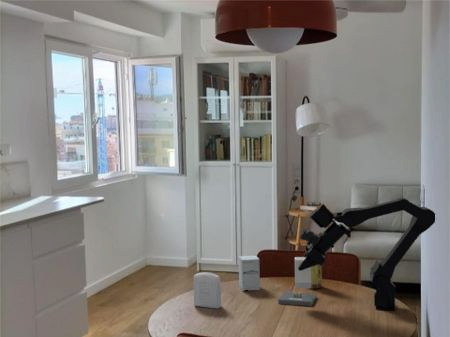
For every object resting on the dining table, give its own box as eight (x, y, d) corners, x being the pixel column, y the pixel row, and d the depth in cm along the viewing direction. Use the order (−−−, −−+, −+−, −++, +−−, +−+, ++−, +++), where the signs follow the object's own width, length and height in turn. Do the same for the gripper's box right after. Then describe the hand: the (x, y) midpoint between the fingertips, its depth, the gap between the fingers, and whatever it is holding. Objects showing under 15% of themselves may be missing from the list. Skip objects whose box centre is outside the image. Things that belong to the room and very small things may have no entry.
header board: (316, 297, 198) (316, 289, 198) (311, 306, 189) (311, 297, 189) (284, 295, 203) (284, 287, 202) (278, 303, 193) (278, 295, 193)
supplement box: (241, 291, 209) (241, 260, 208) (239, 286, 216) (238, 255, 215) (260, 290, 210) (259, 258, 209) (256, 285, 217) (256, 254, 216)
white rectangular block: (310, 284, 190) (310, 257, 189) (311, 288, 186) (310, 260, 185) (295, 284, 191) (294, 257, 190) (295, 288, 186) (294, 260, 186)
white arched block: (223, 305, 193) (222, 272, 192) (218, 309, 189) (217, 275, 188) (197, 302, 197) (196, 270, 196) (192, 306, 193) (191, 273, 192)
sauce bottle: (322, 289, 208) (321, 239, 207) (306, 289, 209) (304, 239, 208) (321, 284, 215) (320, 236, 213) (306, 284, 216) (305, 236, 214)
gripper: (312, 216, 195) (282, 246, 197) (314, 226, 177) (282, 258, 179) (334, 237, 195) (304, 267, 197) (339, 249, 177) (306, 281, 179)
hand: (298, 268), depth 188 cm, fingers closed on white rectangular block, 4 cm apart
